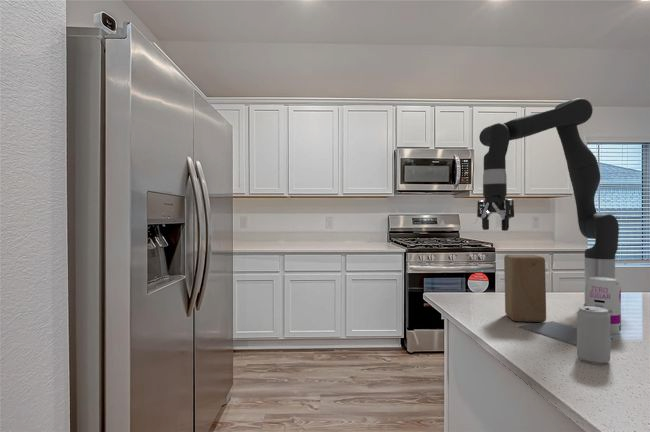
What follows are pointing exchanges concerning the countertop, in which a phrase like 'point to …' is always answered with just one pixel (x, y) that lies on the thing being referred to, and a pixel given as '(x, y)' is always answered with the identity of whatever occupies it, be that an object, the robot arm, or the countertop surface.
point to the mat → (555, 331)
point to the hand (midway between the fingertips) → (495, 230)
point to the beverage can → (593, 335)
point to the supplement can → (606, 299)
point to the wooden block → (525, 288)
